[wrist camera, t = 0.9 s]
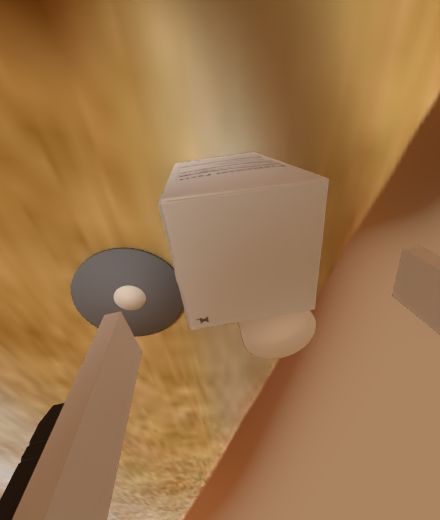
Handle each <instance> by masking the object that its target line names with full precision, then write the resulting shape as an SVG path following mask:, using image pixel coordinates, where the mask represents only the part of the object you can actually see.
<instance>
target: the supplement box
mask: <svg viewBox="0 0 440 520" xmlns="http://www.w3.org/2000/svg"><path fill="white" fill-rule="evenodd" d="M328 187H329V178H326V177H323V176H321V175H318V174H315V173H312V172H310V171H307V170H304V169H301V168H298V167H296V166H293V165H290V164H287V163H284V162H282V161H279V160H276V159H273V158H270V157H267V156H265V155H262V154H259V153H256V152H250V153H242V154H236V155H229V156H222V157H215V158H208V159H201V160H194V161H187V162H180V163H175V164H174V166H173V169H172V171H171V174H170V176H169V179H168V181H167V184H166V186H165V188H164V191H163V193H162V195H161V198H160V200H159V202H158V205H159V210H160V214H161V218H162V222H163V226H164V230H165V234H166V238H167V242H168V246H169V250H170V254H171V258H172V262H173V266H174V272H175V277H176V281H177V283H178V286H179V290H180V294H181V298H182V302H183V306H184V310H185V314H186V318H187V322H188V326H189V329H190V330H198V329H203V328H209V327H214V326H220V325H225V324H231V323H237V322H242V321H248V320H254V319H260V318H267V317H274V316H281V315H288V314H294V313H299V312H304V311H309V310H314V309H315V305H316V295H317V286H318V277H319V268H320V259H321V250H322V241H323V232H324V223H325V213H326V203H327V195H328Z"/></svg>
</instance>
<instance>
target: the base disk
mask: <svg viewBox="0 0 440 520" xmlns="http://www.w3.org/2000/svg"><path fill="white" fill-rule="evenodd" d="M71 295H72V299H73V302H74V305H75V306H76V308H77V310H78V311H79V312H80V314H81V315H82V316H83V317H84V318H85V319H86V320H87V321H88V322H90V323H91V324H92V325H94V326H96V327H97V328H99V326H100V323H101V321H102V319H103V317H104V315H106V314H111V313H115V312H120V311H121V312H122V314H123V316H124V318H125V320H126V322H127V324H128V326H129V327H130V329H131V331H132V333H133V335H134V336H145V335H150V334H153V333H156V332H159V331H161V330H163V329H165V328H166V327H168V326H169V325H170V324H172V323H173V322H174V321H175V320H176V318H177V317H178V316H179V314H180V313H181V310H182V308H183V302H182V298H181V294H180V290H179V286H178V283H177V281H176V277H175V272H174V268H173V267H172V266H171V265H170V264H168V263H167V262H166V261H165V260H163V259H162V258H160V257H158V256H156V255H154V254H152V253H150V252H147V251H143V250H139V249H134V248H114V249H108V250H105V251H101V252H99V253H97V254H95V255H93V256H91V257H90V258H88V259H87V260H86V261H85V262H84V263H83V264H82V265H81V266H80V267H79V268H78V270H77V271H76V273H75V275H74V277H73V280H72V284H71Z"/></svg>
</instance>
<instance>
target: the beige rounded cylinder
mask: <svg viewBox="0 0 440 520" xmlns="http://www.w3.org/2000/svg"><path fill="white" fill-rule="evenodd" d="M238 323H239V327H240V331H241V335H242V339H243V343H244V346H245V348H246V349H247V350H248V351H249V352H250V353H251V354H252V355H254V356H256V357H259V358H264V359H278V358H283V357H287V356H289V355H292V354H294V353H296V352H297V351H299V350H301V349H302V348H303V347H305V346H306V345H307V344H308V343H309V342H310V340H311V339H312V337H313V336H314V334H315V331H316V320H315V318H314V316H313V314H312V313H311V311H310V310H309V311H304V312H299V313H294V314H288V315H281V316H274V317H267V318H260V319H254V320H248V321H242V322H238Z"/></svg>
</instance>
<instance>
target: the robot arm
mask: <svg viewBox="0 0 440 520" xmlns="http://www.w3.org/2000/svg"><path fill="white" fill-rule="evenodd" d="M392 296H393V297H394V298H396V299H397V300H398V301H399V302H400V303H402V304H403V305H404V306H405V307H407V308H408V309H409V310H410V311H412V312H413V313H414V314H415V315H416V316H417V317H419V318H420V319H421V320H422V321H423V322H425V323H426V324H427V325H428V326H430V327H431V328H432V329H433V330H434V331H436V332H437V333H438V334H439V335H440V256H439V255H437V254H435V253H433V252H431V251H429V250H427V249H426V248H424V247H422V246H419V245H418V246H413V247H410V248H405V249H403V251H402V255H401V259H400V264H399V268H398V272H397V277H396V281H395V286H394V290H393V294H392ZM141 354H142V350H141V348H140V346H139V345H138V343H137V341H136V339H135V337H134V335H133V333H132V331H131V329H130V327H129V326H128V324H127V322H126V320H125V318H124V316H123V314H122V312H121V311H120V312H115V313H111V314H106V315H104V317H103V319H102V321H101V323H100V326H99V328H98V330H97V332H96V335H95V337H94V339H93V341H92V343H91V346H90V348H89V350H88V352H87V355H86V357H85V359H84V361H83V363H82V366H81V368H80V370H79V372H78V374H77V377H76V379H75V381H74V383H73V386H72V388H71V390H70V392H69V394H68V397H67V399H66V401H65V403H62V404H58V405H53V407H52V408H51V409H50V410H49V411H48V413H47V414H46V415H45V416H44V418H43V419H42V420H41V421H40V423H39V424H38V426H37V428H36V430H35V432H34V434H33V436H32V438H31V440H30V442H29V443H30V445H29V446H28V447H27V448H26V450H25V452H24V454H23V456H22V458H21V463H20V464H18V466H17V468H16V470H15V472H14V474H13V476H12V478H11V480H10V482H9V484H8V486H7V488H6V490H5V492H4V494H3V495H2V497H1V499H0V520H107V517H108V512H109V507H110V503H111V498H112V493H113V488H114V483H115V479H116V474H117V469H118V464H119V460H120V455H121V450H122V445H123V440H124V436H125V431H126V426H127V421H128V416H129V412H130V407H131V402H132V397H133V392H134V388H135V383H136V378H137V373H138V369H139V364H140V359H141Z"/></svg>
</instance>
